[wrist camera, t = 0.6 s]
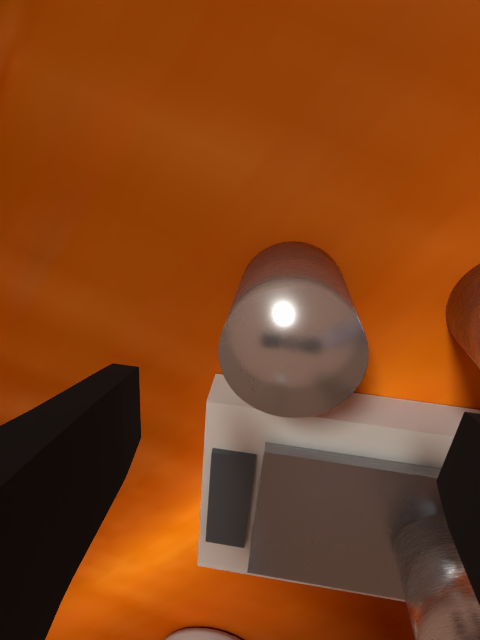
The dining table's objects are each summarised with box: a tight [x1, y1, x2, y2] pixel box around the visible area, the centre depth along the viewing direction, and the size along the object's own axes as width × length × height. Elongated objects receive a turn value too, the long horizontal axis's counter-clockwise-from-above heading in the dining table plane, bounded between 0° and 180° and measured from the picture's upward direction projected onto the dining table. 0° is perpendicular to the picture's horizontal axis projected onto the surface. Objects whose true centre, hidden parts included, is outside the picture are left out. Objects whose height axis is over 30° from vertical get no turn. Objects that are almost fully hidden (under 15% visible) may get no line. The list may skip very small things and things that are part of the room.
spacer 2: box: [393, 514, 480, 640], centre depth 15 cm, size 4×4×6 cm
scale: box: [197, 374, 480, 602], centre depth 19 cm, size 14×11×2 cm
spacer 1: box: [219, 241, 368, 418], centre depth 14 cm, size 4×4×6 cm
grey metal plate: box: [247, 442, 444, 600], centre depth 18 cm, size 11×8×1 cm
